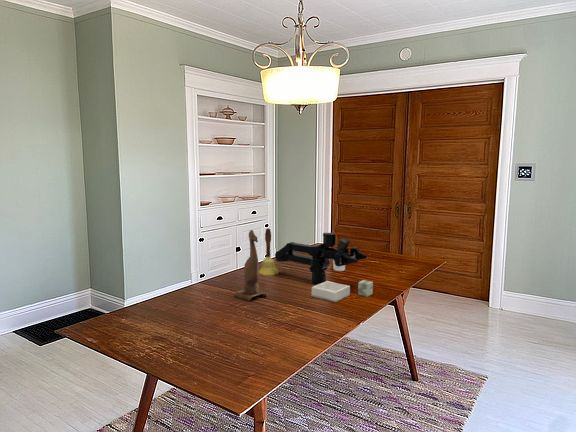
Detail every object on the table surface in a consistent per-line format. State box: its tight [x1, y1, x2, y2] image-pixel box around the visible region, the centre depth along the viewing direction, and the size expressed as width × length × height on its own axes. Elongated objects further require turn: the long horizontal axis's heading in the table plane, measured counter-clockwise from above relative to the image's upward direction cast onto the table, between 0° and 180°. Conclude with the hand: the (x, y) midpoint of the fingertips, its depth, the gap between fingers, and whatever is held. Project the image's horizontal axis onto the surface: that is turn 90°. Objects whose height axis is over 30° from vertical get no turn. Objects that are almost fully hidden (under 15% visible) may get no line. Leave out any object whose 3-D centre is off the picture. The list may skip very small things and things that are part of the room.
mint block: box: [357, 279, 374, 298], centre depth 207 cm, size 5×5×6 cm
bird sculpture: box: [234, 229, 269, 303], centre depth 201 cm, size 11×12×32 cm
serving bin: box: [311, 280, 351, 303], centre depth 204 cm, size 13×13×4 cm
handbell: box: [259, 228, 280, 276], centre depth 242 cm, size 12×12×25 cm
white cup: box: [332, 259, 346, 272], centre depth 249 cm, size 8×8×10 cm
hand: (362, 259), depth 207 cm, fingers open, 9 cm apart
